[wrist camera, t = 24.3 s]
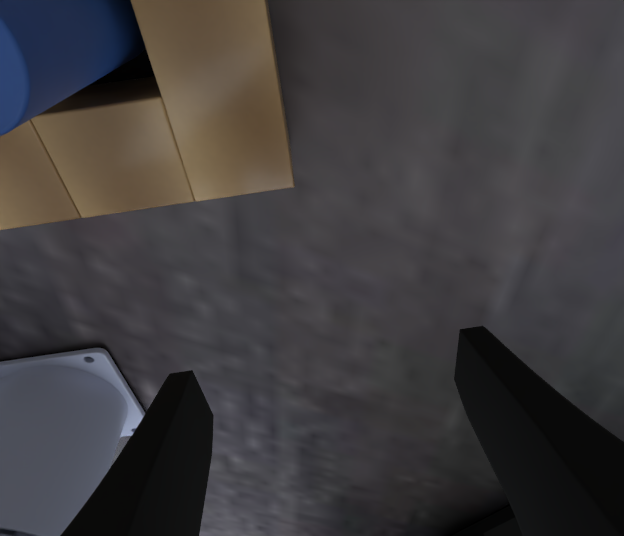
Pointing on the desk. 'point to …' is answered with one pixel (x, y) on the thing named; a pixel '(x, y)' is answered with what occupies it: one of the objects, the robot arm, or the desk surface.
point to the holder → (159, 123)
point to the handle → (59, 51)
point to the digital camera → (494, 525)
